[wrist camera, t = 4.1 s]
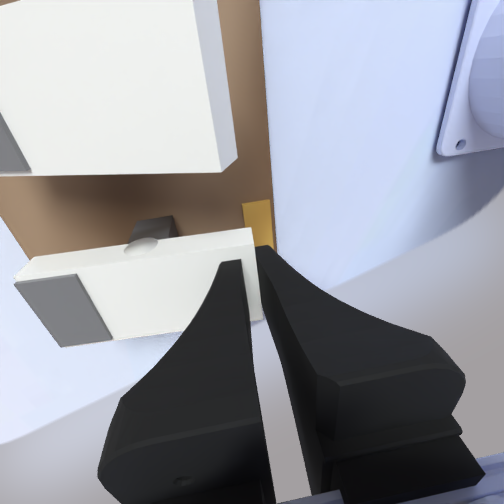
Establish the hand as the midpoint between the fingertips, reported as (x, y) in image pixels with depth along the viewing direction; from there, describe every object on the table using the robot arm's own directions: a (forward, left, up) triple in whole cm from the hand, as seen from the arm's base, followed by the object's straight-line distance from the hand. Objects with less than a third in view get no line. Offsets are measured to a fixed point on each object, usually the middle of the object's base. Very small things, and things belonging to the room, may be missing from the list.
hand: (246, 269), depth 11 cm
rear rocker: (+4, 0, 0) cm, 4 cm away
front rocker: (+4, -7, 0) cm, 7 cm away
